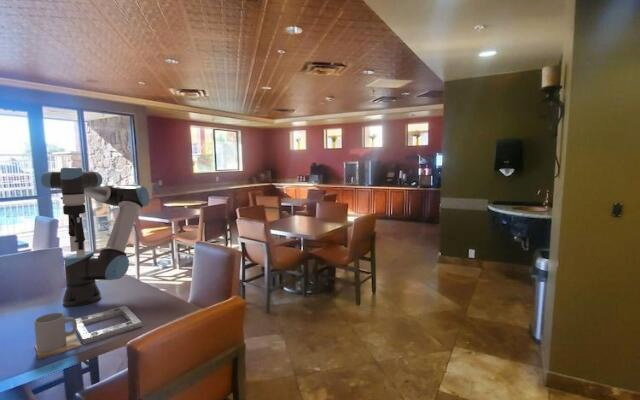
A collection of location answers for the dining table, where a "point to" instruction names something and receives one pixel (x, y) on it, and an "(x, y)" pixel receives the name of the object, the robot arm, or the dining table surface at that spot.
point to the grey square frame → (103, 333)
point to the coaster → (70, 344)
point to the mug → (52, 331)
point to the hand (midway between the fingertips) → (77, 254)
